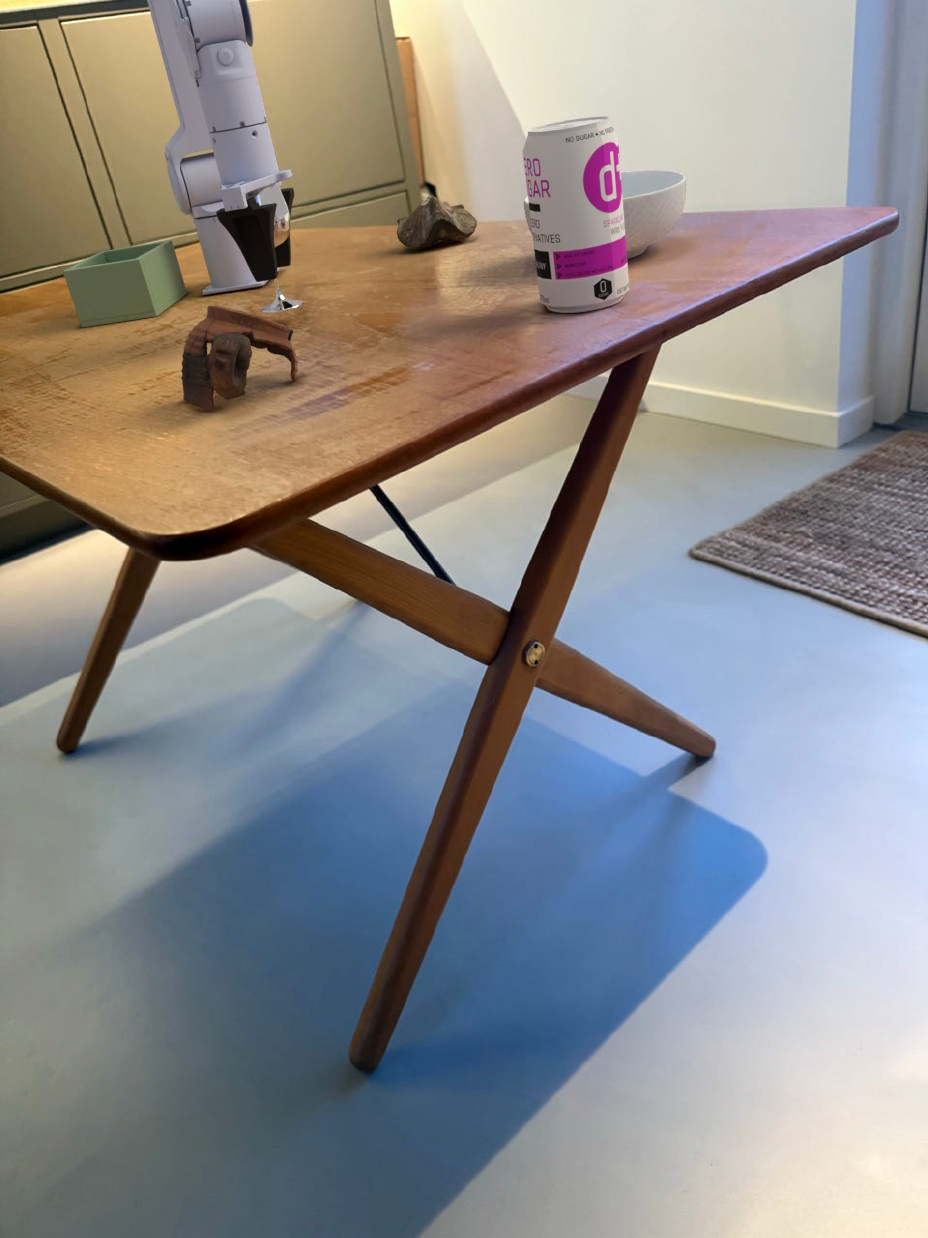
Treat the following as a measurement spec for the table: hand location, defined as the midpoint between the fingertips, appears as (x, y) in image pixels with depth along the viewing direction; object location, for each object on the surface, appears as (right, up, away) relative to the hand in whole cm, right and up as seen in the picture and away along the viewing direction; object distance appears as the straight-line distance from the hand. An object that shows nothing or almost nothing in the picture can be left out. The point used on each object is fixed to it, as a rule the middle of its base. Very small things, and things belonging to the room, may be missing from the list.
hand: (273, 273), depth 103 cm
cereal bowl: (+35, +4, +6) cm, 36 cm away
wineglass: (+1, -3, +2) cm, 4 cm away
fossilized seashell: (+16, +13, +28) cm, 35 cm away
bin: (-21, +3, +22) cm, 31 cm away
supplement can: (+31, -6, -10) cm, 33 cm away
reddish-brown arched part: (+1, -17, -18) cm, 25 cm away
